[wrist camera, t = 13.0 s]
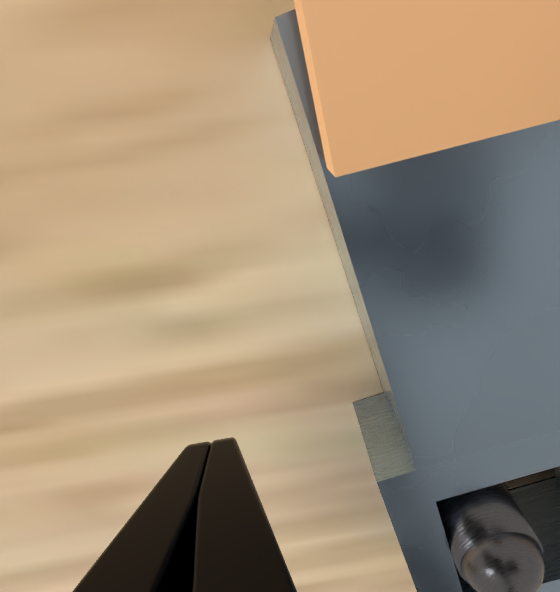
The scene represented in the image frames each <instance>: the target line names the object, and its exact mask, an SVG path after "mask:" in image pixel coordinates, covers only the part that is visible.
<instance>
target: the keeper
mask: <svg viewBox="0 0 560 592" xmlns="http://www.w3.org/2000/svg"><path fill="white" fill-rule="evenodd" d="M294 5H295V10H296V15H297V20H298V25H299V30H300V35H301V40H302V45H303V50H304V55H305V60H306V65H307V70H308V75H309V80H310V86H311V91H312V96H313V101H314V106H315V111H316V116H317V121H318V126H319V131H320V136H321V141H322V146H323V151H324V156H325V161H326V166H327V169H328V170H329V171H330V172H331V173H332V174H333V176H334V177H339V176H343V175H347V174H351V173H355V172H358V171H362V170H366V169H370V168H374V167H378V166H382V165H386V164H389V163H393V162H397V161H401V160H405V159H409V158H413V157H417V156H421V155H424V154H428V153H432V152H436V151H440V150H444V149H448V148H452V147H456V146H459V145H463V144H467V143H471V142H475V141H479V140H483V139H487V138H491V137H494V136H498V135H502V134H506V133H510V132H514V131H518V130H522V129H525V128H529V127H533V126H537V125H541V124H545V123H549V122H553V121H557V120H560V0H294Z"/></svg>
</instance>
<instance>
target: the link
mask: <svg viewBox="0 0 560 592" xmlns="http://www.w3.org/2000/svg"><path fill="white" fill-rule="evenodd" d="M270 39H271V43H272V46H273V49H274V52H275V55H276V58H277V61H278V64H279V67H280V71H281V74H282V77H283V80H284V83H285V86H286V89H287V92H288V95H289V98H290V102H291V105H292V108H293V111H294V114H295V117H296V120H297V123H298V126H299V130H300V133H301V136H302V139H303V142H304V145H305V148H306V151H307V154H308V157H309V161H310V164H311V167H312V170H313V173H314V176H315V179H316V182H317V185H318V189H319V192H320V195H321V198H322V201H323V204H324V207H325V210H326V213H327V217H328V220H329V223H330V226H331V229H332V232H333V235H334V238H335V241H336V244H337V248H338V251H339V254H340V257H341V260H342V263H343V266H344V269H345V272H346V276H347V279H348V282H349V285H350V288H351V291H352V294H353V297H354V300H355V303H356V307H357V310H358V313H359V316H360V319H361V322H362V325H363V328H364V331H365V335H366V338H367V341H368V344H369V347H370V350H371V353H372V356H373V359H374V363H375V366H376V369H377V372H378V375H379V378H380V381H381V384H382V387H383V390H384V393H382V394H378V395H375V396H372V397H369V398H366V399H363V400H359V401H356V402H353V405H354V408H355V411H356V415H357V418H358V421H359V425H360V428H361V431H362V435H363V438H364V441H365V444H366V448H367V451H368V454H369V458H370V461H371V464H372V468H373V471H374V474H375V477H376V481H377V484H378V486H379V489H380V492H381V495H382V497H383V500H384V503H385V505H386V508H387V511H388V514H389V516H390V519H391V522H392V524H393V527H394V530H395V533H396V535H397V538H398V541H399V543H400V546H401V549H402V552H403V554H404V557H405V560H406V562H407V565H408V568H409V571H410V573H411V576H412V579H413V581H414V584H415V587H416V590H417V592H477V591H476V590H475V589H473V588H472V587H471V585H470V584H469V583H468V582H467V581H465V580H464V579H463V578H462V577H461V575H460V574H459V571H458V569H457V567H456V564H455V562H454V559H453V557H452V554H451V551H450V548H449V544H448V541H447V538H446V534H445V531H444V528H443V524H442V521H441V518H440V514H439V511H438V508H437V504H436V501H440V500H443V499H447V498H450V497H454V496H457V495H461V494H464V493H468V492H471V491H475V490H478V489H482V488H485V487H489V486H492V485H496V484H499V483H503V482H506V481H510V480H513V479H517V478H520V477H524V476H527V475H531V474H534V473H538V472H541V471H545V470H548V469H552V468H554V471H555V478H552V479H549V480H545V481H541V482H538V483H534V484H531V485H527V486H524V487H520V488H517V489H513V490H510V491H509V493H510V494H511V496H512V497H513V499H514V501H515V502H516V504H517V505H518V507H519V509H520V510H521V512H522V513H523V515H524V517H525V518H526V520H527V521H528V523H529V525H530V526H531V528H532V529H533V531H534V533H535V534H536V536H537V537H538V539H539V541H540V542H541V544H542V547H543V557H544V563H545V572H544V578H543V582H542V584H541V586H540V588H539V590H538V591H537V592H560V120H557V121H553V122H549V123H545V124H541V125H537V126H533V127H529V128H525V129H522V130H518V131H514V132H510V133H506V134H502V135H498V136H494V137H491V138H487V139H483V140H479V141H475V142H471V143H467V144H463V145H459V146H456V147H452V148H448V149H444V150H440V151H436V152H432V153H428V154H424V155H421V156H417V157H413V158H409V159H405V160H401V161H397V162H393V163H389V164H386V165H382V166H378V167H374V168H370V169H366V170H362V171H358V172H355V173H351V174H347V175H343V176H339V177H334V176H333V174H332V173H331V172H330V171H329V170H328V169H327V166H326V161H325V156H324V151H323V146H322V141H321V136H320V131H319V126H318V121H317V116H316V111H315V106H314V101H313V96H312V91H311V86H310V80H309V75H308V70H307V65H306V60H305V55H304V50H303V45H302V40H301V35H300V30H299V25H298V20H297V15H296V10H295V9H294V10H292V11H289V12H287V13H284V14H282V15H280V16H277V17H275V20H274V24H273V29H272V33H271V37H270Z"/></svg>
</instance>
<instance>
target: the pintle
mask: <svg viewBox="0 0 560 592" xmlns="http://www.w3.org/2000/svg"><path fill="white" fill-rule="evenodd" d="M436 504H437V508H438V511H439V514H440V518H441V521H442V524H443V528H444V531H445V534H446V538H447V541H448V544H449V548H450V551H451V554H452V557H453V559H454V562H455V564H456V567H457V569H458V571H459V574H460V575H461V577H462V578H463V579H464V580H465V581H467V582H468V583H469V584H470V585H471V587H472V588H473V589H475V590H476V591H477V592H537V591H538V590H539V588H540V586H541V584H542V582H543V578H544V572H545V563H544V557H543V547H542V544H541V542H540V541H539V539H538V537H537V536H536V534H535V533H534V531H533V529H532V528H531V526H530V525H529V523H528V521H527V520H526V518H525V517H524V515H523V513H522V512H521V510H520V509H519V507H518V505H517V504H516V502H515V501H514V499H513V497H512V496H511V494H510V493H509V491H508V489H507V488H506V486H505V485H504V483H499V484H496V485H492V486H489V487H485V488H482V489H478V490H475V491H471V492H468V493H464V494H461V495H457V496H454V497H450V498H447V499H443V500H440V501H436Z"/></svg>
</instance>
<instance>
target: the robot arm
mask: <svg viewBox="0 0 560 592" xmlns="http://www.w3.org/2000/svg"><path fill="white" fill-rule="evenodd" d="M73 592H297V591H296V588H295V586H294V583H293V581H292V578H291V576H290V573H289V571H288V568H287V566H286V563H285V561H284V558H283V556H282V553H281V551H280V548H279V546H278V543H277V541H276V538H275V536H274V533H273V531H272V528H271V526H270V523H269V521H268V518H267V516H266V513H265V511H264V508H263V506H262V503H261V501H260V499H259V496H258V494H257V491H256V489H255V486H254V484H253V481H252V479H251V476H250V474H249V471H248V469H247V466H246V464H245V461H244V459H243V456H242V454H241V451H240V449H239V446H238V444H237V441H236V439H235V438H226V439H220V440H215V441H213V442H212V443H210V442H203V443H197V444H191V445H188V446H187V447H186V448H185V449H184V450H183V451H182V453H181V454H180V455H179V456H178V458H177V459H176V460H175V462H174V463H173V464H172V465H171V467H170V468H169V469H168V470H167V472H166V473H165V474H164V476H163V477H162V478H161V479H160V481H159V482H158V483H157V484H156V486H155V487H154V488H153V490H152V491H151V492H150V493H149V495H148V496H147V497H146V498H145V500H144V501H143V502H142V504H141V505H140V506H139V507H138V509H137V510H136V511H135V513H134V514H133V515H132V516H131V518H130V519H129V520H128V521H127V523H126V524H125V525H124V527H123V528H122V529H121V530H120V532H119V533H118V534H117V535H116V537H115V538H114V539H113V541H112V542H111V543H110V544H109V546H108V547H107V548H106V549H105V551H104V552H103V553H102V555H101V556H100V557H99V558H98V560H97V561H96V562H95V564H94V565H93V566H92V567H91V569H90V570H89V571H88V572H87V574H86V575H85V576H84V578H83V579H82V580H81V581H80V583H79V584H78V585H77V586H76V588H75V589H74V590H73Z"/></svg>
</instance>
